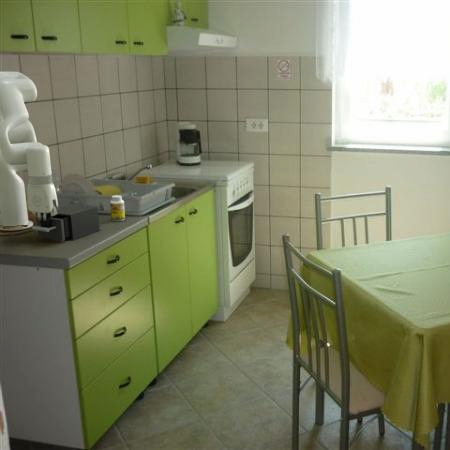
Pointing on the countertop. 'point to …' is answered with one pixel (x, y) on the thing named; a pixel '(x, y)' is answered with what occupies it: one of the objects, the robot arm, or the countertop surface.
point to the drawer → (54, 228)
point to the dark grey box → (80, 219)
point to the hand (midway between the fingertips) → (46, 230)
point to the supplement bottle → (117, 208)
